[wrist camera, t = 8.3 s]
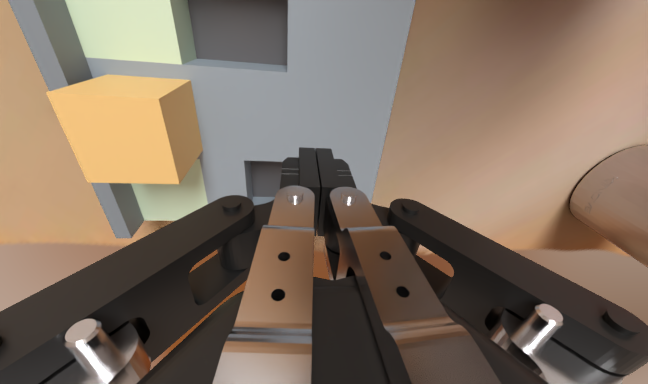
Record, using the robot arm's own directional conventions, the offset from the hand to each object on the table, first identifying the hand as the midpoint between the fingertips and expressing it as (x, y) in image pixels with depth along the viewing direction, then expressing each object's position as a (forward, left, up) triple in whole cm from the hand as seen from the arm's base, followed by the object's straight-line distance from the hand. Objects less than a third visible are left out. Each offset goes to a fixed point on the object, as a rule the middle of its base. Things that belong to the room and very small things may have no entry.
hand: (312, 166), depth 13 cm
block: (+9, 0, -6) cm, 11 cm away
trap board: (+4, 0, -9) cm, 10 cm away
